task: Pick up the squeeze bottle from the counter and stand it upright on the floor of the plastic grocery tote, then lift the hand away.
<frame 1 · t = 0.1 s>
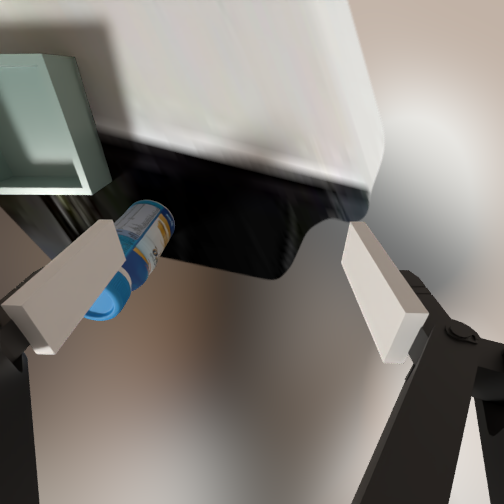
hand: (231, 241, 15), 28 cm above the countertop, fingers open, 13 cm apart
beverage bottle: (152, 219, 46), on the countertop
tote: (41, 126, 38), on the countertop
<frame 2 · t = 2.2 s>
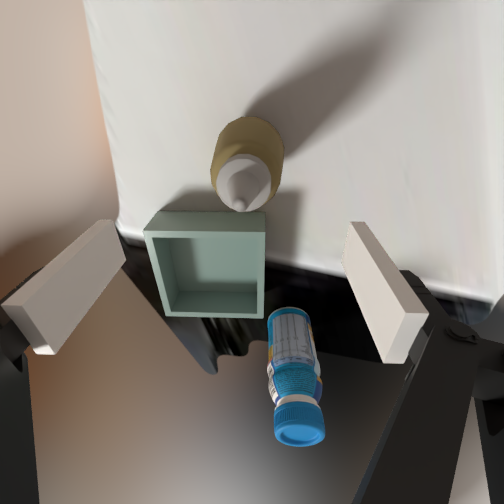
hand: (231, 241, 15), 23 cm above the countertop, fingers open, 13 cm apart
beverage bottle: (288, 319, 51), on the countertop
squeeze bottle: (251, 147, 34), on the countertop
tote: (215, 255, 43), on the countertop
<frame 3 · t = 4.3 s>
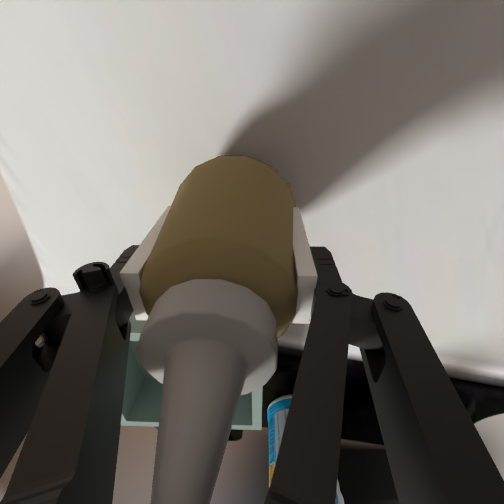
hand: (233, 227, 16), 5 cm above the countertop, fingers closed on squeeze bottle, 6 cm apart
beverage bottle: (295, 405, 38), on the countertop
squeeze bottle: (239, 195, 21), on the countertop, touching gripper
tote: (192, 337, 30), on the countertop
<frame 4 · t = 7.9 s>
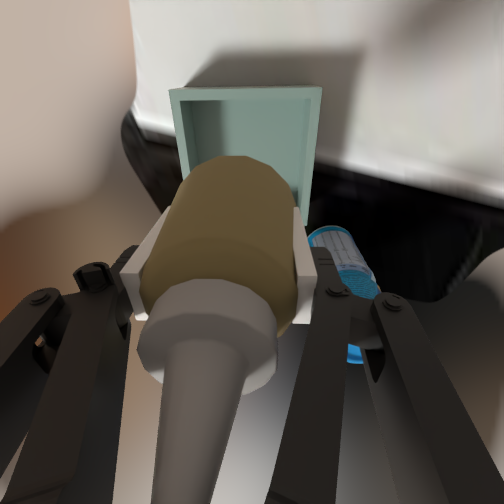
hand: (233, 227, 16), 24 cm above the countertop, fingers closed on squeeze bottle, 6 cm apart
beverage bottle: (327, 244, 45), on the countertop
squeeze bottle: (239, 195, 21), point 18 cm above the countertop, touching gripper
tote: (249, 153, 37), on the countertop
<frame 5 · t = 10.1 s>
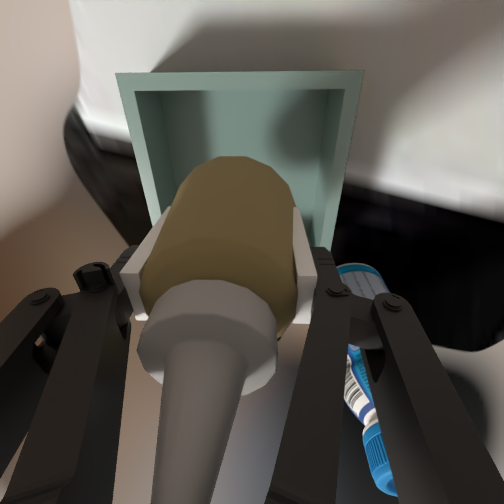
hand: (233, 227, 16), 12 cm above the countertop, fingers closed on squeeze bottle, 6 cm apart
beverage bottle: (347, 284, 34), on the countertop
squeeze bottle: (239, 196, 21), point 7 cm above the countertop, touching gripper
tote: (245, 169, 26), on the countertop
when the fingers open (7 cm above the countertop, at t = 11.8 s): squeeze bottle drops 1 cm, resting on tote.
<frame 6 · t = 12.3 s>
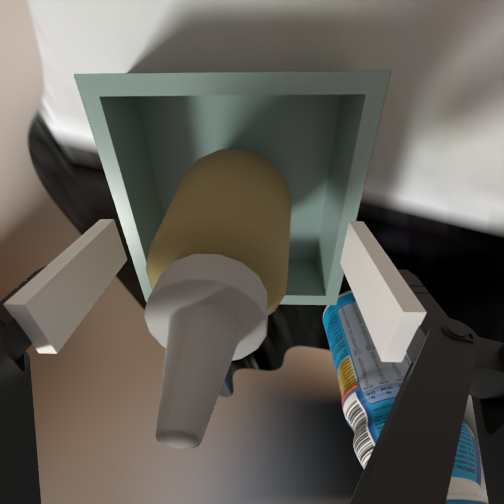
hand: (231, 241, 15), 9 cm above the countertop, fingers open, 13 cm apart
beverage bottle: (357, 310, 31), on the countertop
squeeze bottle: (239, 188, 22), point 1 cm above the countertop, touching tote
tote: (241, 186, 23), on the countertop
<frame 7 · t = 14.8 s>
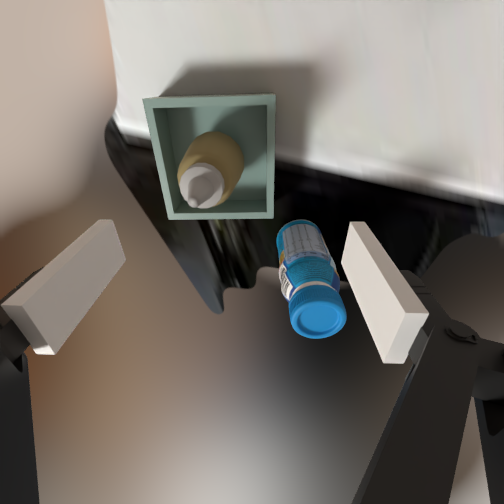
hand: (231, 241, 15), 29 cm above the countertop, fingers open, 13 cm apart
beverage bottle: (298, 237, 48), on the countertop
squeeze bottle: (219, 155, 40), point 1 cm above the countertop, touching tote
tote: (220, 155, 41), on the countertop
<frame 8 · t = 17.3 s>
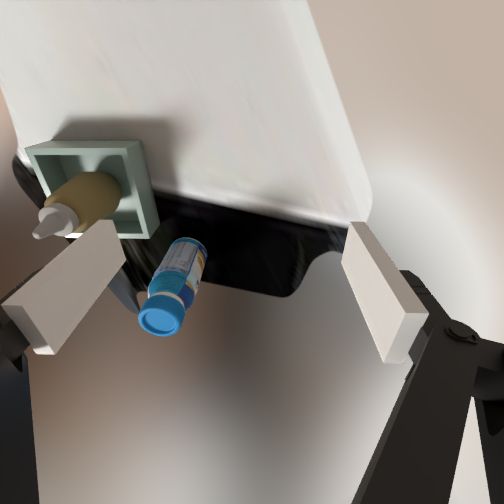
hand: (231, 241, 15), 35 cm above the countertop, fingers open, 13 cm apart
beverage bottle: (189, 251, 58), on the countertop
squeeze bottle: (106, 186, 49), point 1 cm above the countertop, touching tote
tote: (109, 185, 50), on the countertop
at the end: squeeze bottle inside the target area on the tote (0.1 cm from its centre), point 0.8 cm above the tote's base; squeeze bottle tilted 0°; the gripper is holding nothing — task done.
